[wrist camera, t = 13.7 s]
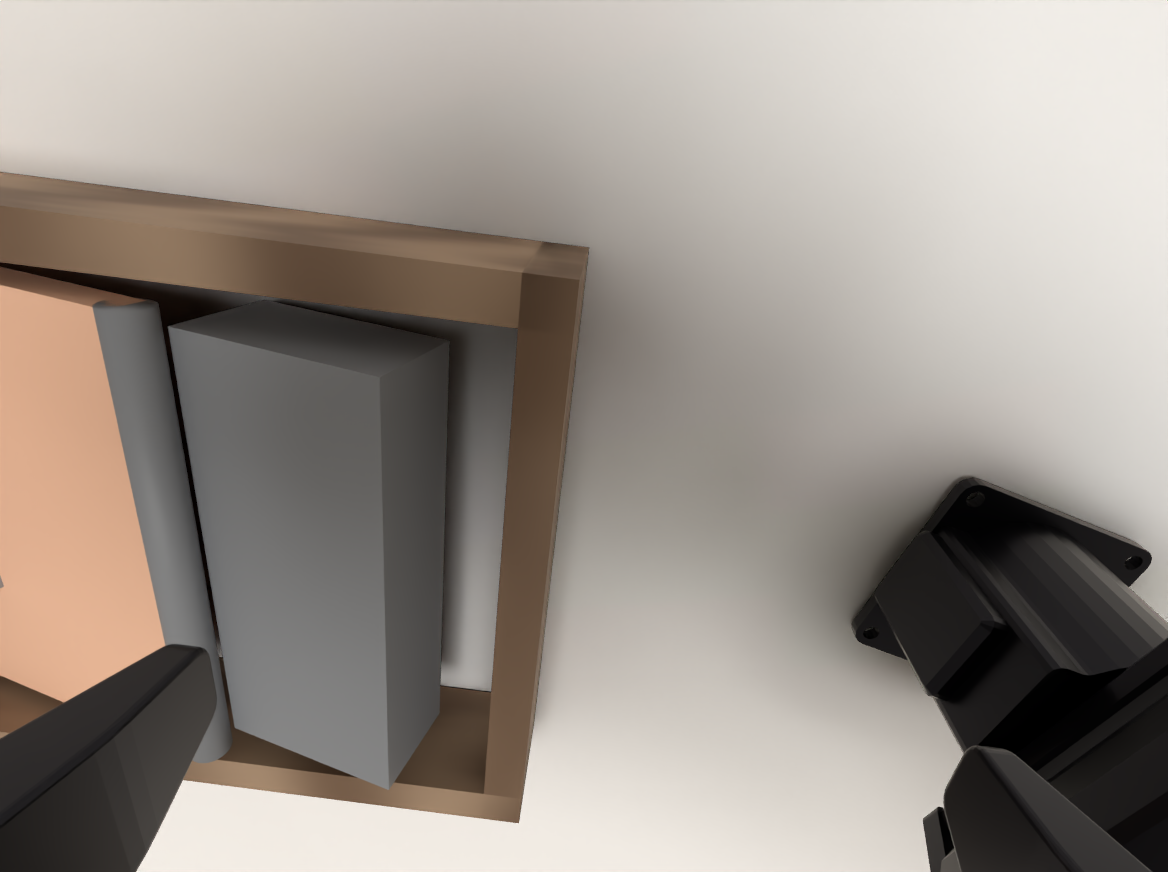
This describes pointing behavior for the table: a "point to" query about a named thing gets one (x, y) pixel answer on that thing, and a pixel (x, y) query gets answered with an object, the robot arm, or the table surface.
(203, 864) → the table surface
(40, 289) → the flap
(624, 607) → the table surface
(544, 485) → the flap frame
